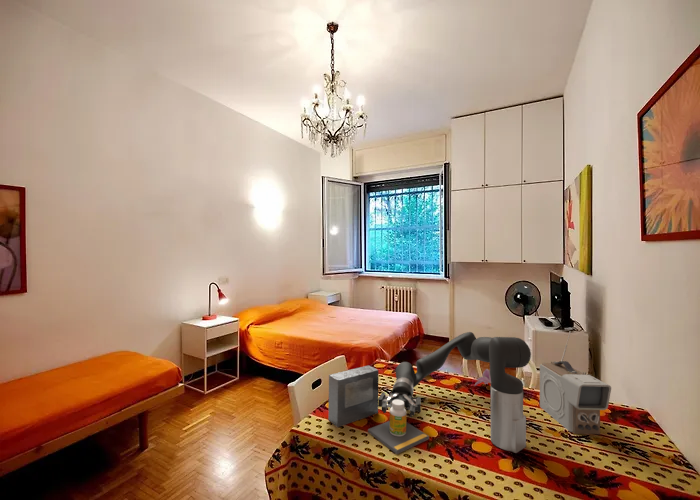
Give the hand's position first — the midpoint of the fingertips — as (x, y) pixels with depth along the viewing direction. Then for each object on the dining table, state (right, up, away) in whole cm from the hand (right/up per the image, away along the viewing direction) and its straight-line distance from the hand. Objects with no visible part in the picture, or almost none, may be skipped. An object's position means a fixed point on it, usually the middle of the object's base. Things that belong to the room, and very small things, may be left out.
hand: (397, 412), depth 102 cm
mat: (0, -9, +2) cm, 9 cm away
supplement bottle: (0, -8, +2) cm, 8 cm away
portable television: (+65, -10, +12) cm, 67 cm away
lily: (+46, -10, +40) cm, 62 cm away
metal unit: (-14, -9, +14) cm, 21 cm away
